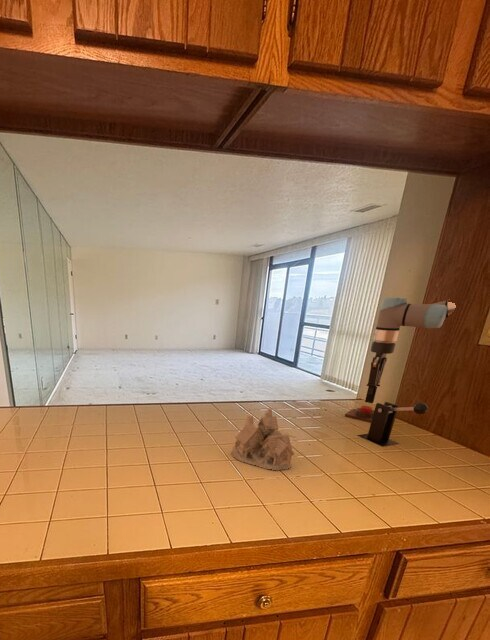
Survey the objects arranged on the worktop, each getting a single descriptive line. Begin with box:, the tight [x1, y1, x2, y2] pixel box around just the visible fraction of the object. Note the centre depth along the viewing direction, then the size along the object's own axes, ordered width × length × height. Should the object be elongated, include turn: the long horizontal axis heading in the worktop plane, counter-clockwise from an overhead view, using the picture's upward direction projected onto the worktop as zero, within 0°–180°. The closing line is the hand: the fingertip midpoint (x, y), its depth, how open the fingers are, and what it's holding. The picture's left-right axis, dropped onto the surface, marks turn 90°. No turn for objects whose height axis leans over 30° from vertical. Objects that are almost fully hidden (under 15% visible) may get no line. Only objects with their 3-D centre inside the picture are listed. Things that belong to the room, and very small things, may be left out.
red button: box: [360, 405, 373, 413], centre depth 139 cm, size 4×4×2 cm
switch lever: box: [389, 402, 429, 415], centre depth 110 cm, size 14×4×4 cm, turn 22°
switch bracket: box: [357, 401, 400, 448], centre depth 117 cm, size 10×8×14 cm
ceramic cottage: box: [230, 407, 295, 471], centre depth 103 cm, size 16×16×15 cm
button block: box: [344, 407, 375, 424], centre depth 140 cm, size 12×10×4 cm
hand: (369, 402), depth 138 cm, fingers closed
